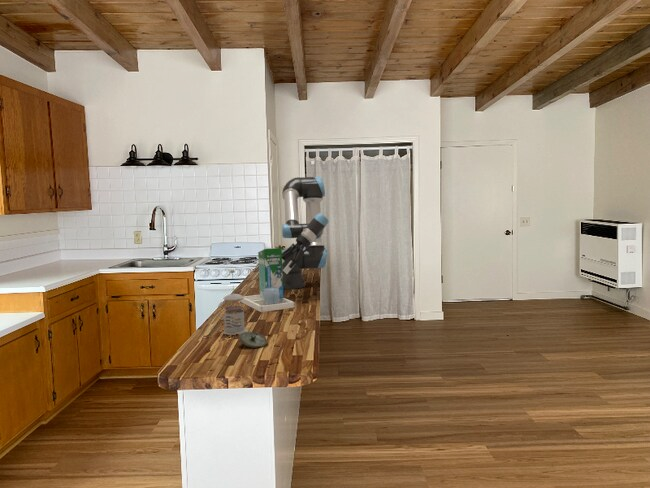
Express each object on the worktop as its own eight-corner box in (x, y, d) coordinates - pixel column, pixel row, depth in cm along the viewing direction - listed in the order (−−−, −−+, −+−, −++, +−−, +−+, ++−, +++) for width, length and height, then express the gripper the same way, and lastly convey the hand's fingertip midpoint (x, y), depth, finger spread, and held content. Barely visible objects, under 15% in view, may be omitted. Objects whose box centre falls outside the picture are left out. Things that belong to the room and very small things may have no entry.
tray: (240, 303, 264) (240, 296, 264) (272, 299, 272) (272, 293, 272) (260, 314, 240) (260, 306, 239) (294, 309, 247) (294, 302, 247)
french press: (242, 335, 204) (239, 271, 202) (214, 334, 206) (211, 271, 204) (250, 328, 213) (248, 267, 211) (224, 328, 216) (221, 267, 213)
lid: (253, 339, 197) (253, 326, 197) (273, 343, 191) (272, 330, 191) (232, 346, 189) (232, 333, 188) (252, 350, 183) (252, 336, 182)
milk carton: (276, 295, 265) (275, 246, 263) (283, 298, 257) (281, 247, 255) (259, 297, 261) (257, 247, 259) (266, 300, 253) (264, 248, 251)
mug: (262, 306, 251) (261, 288, 250) (276, 304, 254) (275, 286, 253) (269, 310, 243) (269, 290, 242) (283, 308, 246) (283, 289, 245)
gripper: (291, 232, 280) (265, 262, 275) (311, 236, 258) (284, 269, 253) (300, 241, 283) (275, 271, 278) (321, 245, 261) (294, 278, 256)
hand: (279, 270), depth 265 cm, fingers open, 13 cm apart
